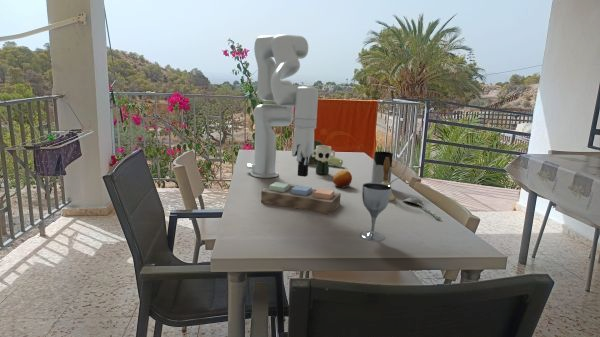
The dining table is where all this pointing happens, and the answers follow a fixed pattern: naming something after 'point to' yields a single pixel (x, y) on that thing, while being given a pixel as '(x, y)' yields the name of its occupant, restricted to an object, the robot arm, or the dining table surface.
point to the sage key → (279, 187)
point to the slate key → (301, 190)
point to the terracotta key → (324, 193)
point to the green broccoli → (332, 161)
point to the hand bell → (386, 169)
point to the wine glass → (375, 205)
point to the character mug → (323, 158)
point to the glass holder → (378, 167)
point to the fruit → (342, 178)
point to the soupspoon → (418, 201)
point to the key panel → (301, 200)
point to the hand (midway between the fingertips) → (302, 175)
